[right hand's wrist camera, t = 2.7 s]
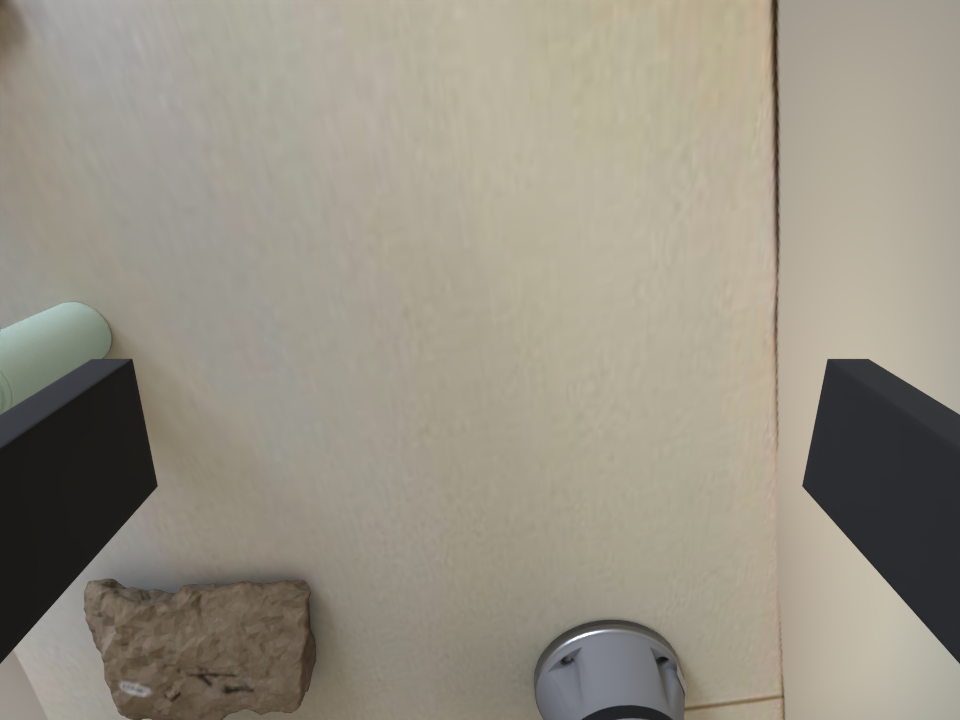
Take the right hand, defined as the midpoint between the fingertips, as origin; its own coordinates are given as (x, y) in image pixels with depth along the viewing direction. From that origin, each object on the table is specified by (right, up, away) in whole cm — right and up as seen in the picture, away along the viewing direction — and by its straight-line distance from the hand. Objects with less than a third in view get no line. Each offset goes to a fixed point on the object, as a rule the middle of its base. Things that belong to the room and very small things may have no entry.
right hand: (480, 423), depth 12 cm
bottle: (-34, +3, +42) cm, 54 cm away
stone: (-27, -25, +53) cm, 64 cm away
